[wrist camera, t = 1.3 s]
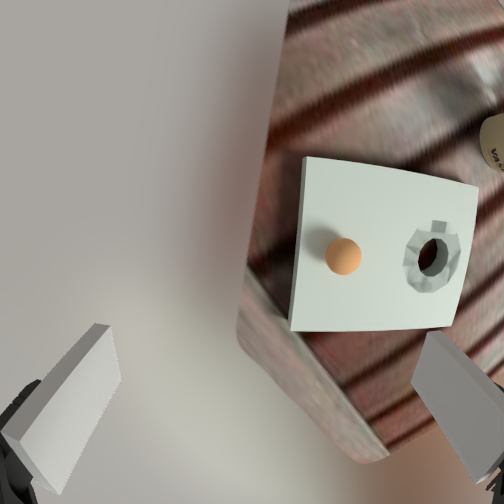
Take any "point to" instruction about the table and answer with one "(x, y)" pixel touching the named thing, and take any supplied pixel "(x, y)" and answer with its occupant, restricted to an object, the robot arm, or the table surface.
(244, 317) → the table surface
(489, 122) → the coffee cup
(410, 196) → the plate
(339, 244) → the ball
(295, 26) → the table surface
